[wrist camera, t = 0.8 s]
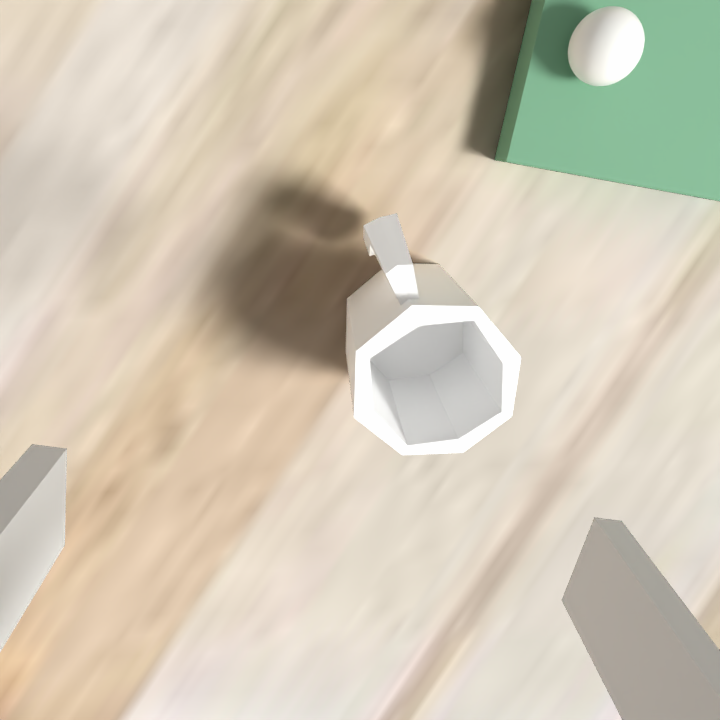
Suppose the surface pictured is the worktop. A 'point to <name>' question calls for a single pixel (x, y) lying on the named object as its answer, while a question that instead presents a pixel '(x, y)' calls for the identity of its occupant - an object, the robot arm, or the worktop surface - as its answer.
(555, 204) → the worktop surface
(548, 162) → the putting strip
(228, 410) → the worktop surface
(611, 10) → the ball
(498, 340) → the mug
